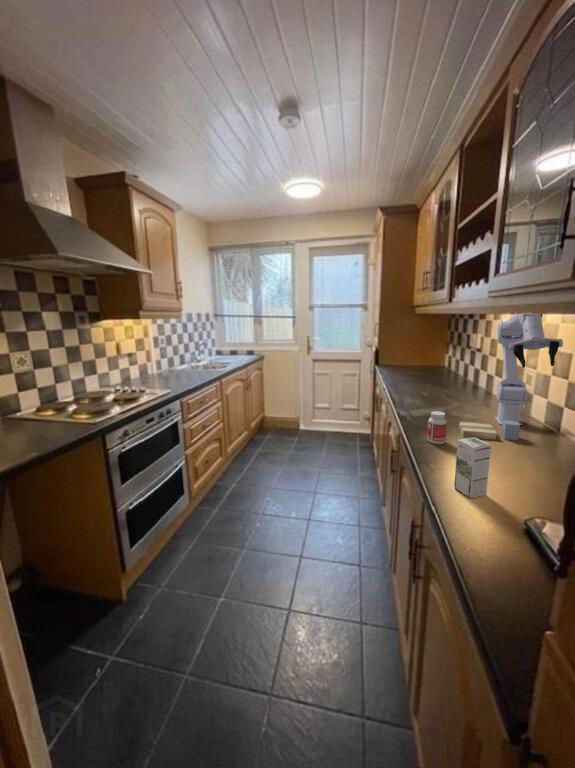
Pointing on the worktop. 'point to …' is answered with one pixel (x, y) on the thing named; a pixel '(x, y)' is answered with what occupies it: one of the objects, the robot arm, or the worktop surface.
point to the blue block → (510, 430)
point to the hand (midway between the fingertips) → (538, 365)
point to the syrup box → (472, 466)
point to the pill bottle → (437, 428)
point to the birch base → (478, 430)
